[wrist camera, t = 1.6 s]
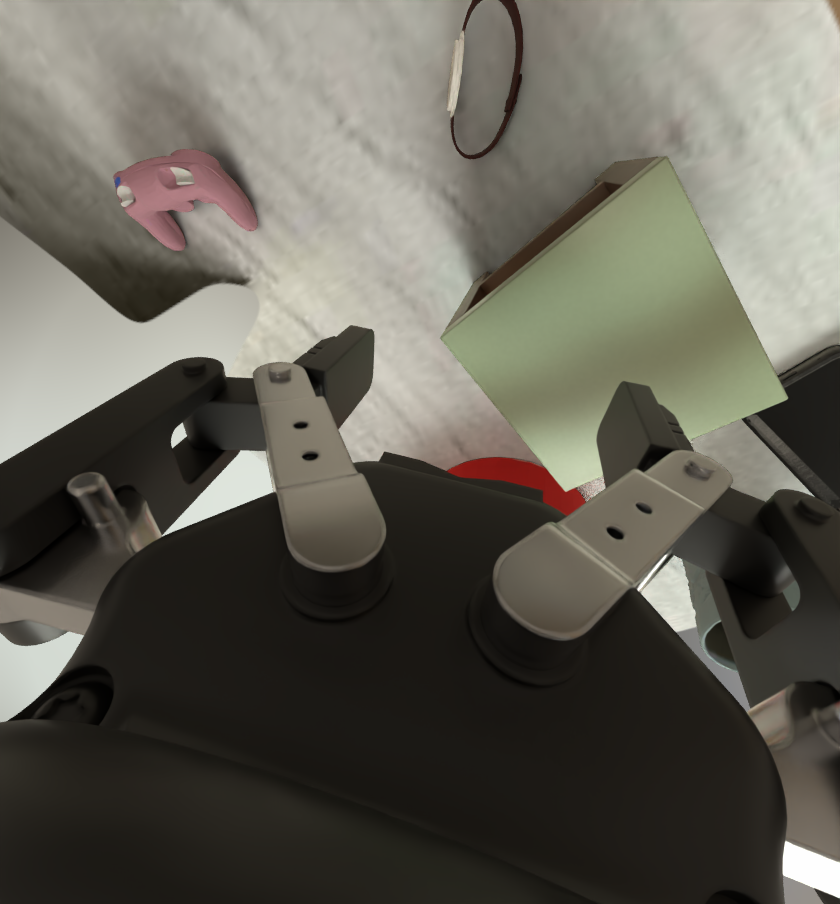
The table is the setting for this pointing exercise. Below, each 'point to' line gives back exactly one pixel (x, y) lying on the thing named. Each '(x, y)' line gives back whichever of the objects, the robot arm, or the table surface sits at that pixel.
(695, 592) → the grey-green cup
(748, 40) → the table surface
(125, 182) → the video game controller
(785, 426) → the phone
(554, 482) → the toy clock
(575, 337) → the small side table
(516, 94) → the watch
